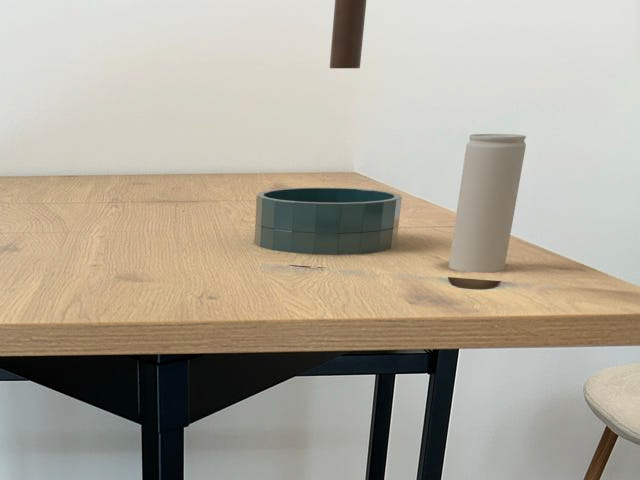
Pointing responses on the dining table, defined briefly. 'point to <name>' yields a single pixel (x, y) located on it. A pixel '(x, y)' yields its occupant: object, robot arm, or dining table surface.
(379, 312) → the dining table surface
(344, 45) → the stick
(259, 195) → the bowl
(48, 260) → the dining table surface
